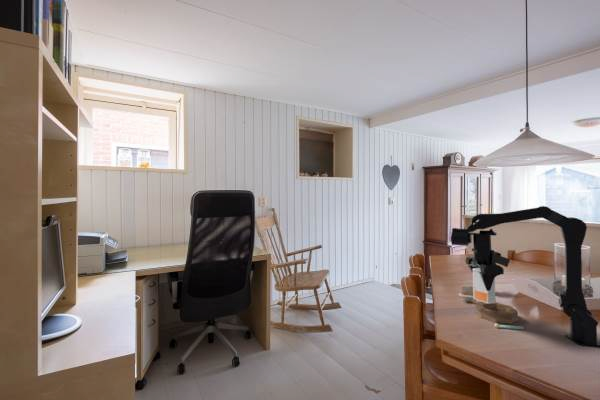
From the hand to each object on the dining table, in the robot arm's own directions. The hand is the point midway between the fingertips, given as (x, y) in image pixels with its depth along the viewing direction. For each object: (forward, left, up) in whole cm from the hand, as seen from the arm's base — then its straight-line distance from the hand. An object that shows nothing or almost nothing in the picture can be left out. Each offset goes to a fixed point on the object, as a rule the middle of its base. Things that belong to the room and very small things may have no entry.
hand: (484, 287), depth 107 cm
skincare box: (0, 0, -5) cm, 5 cm away
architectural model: (+22, -2, -13) cm, 25 cm away
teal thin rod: (-5, -6, -13) cm, 15 cm away
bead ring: (+6, -6, -13) cm, 15 cm away
